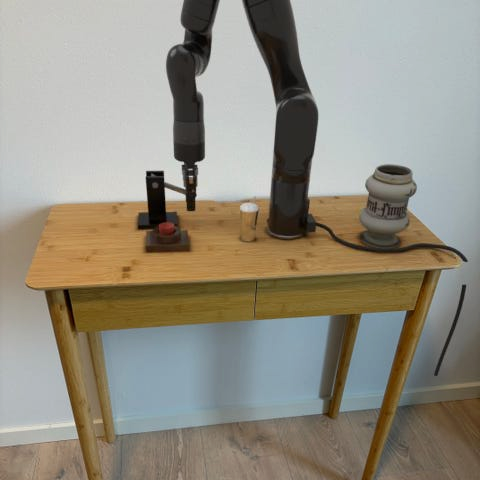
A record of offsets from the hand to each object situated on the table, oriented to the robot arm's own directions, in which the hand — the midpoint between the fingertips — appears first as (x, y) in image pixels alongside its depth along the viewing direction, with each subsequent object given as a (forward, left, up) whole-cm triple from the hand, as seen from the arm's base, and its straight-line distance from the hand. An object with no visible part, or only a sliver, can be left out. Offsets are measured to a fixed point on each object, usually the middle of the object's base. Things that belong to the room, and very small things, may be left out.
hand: (190, 206), depth 127 cm
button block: (+6, +13, -4) cm, 15 cm away
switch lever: (+5, 0, +4) cm, 6 cm away
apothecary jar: (-47, +14, -4) cm, 49 cm away
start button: (+6, +13, -1) cm, 14 cm away
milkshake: (-14, +11, -4) cm, 18 cm away
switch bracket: (+8, 0, -4) cm, 10 cm away
